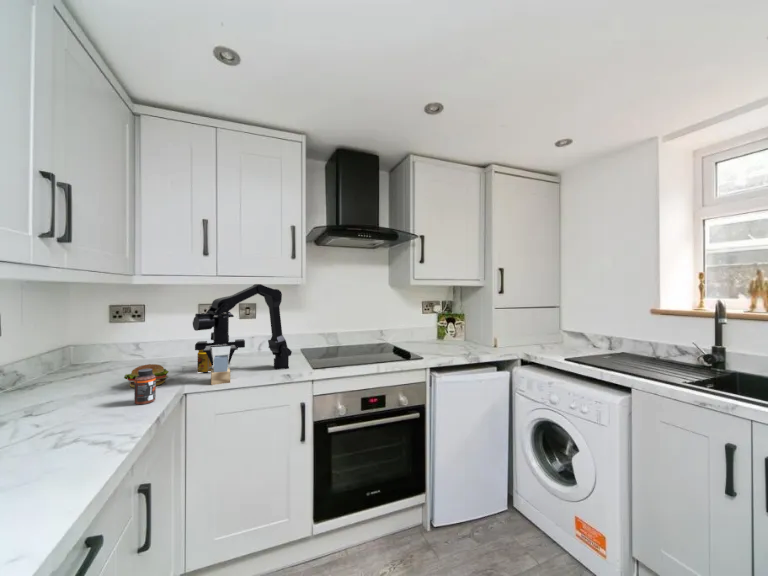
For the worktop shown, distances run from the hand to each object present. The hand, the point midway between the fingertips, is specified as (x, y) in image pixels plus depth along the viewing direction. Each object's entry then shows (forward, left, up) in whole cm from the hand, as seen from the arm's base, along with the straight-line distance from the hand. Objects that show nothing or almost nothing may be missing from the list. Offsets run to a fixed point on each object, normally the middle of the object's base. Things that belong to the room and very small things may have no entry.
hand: (220, 364), depth 136 cm
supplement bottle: (+23, +17, -7) cm, 29 cm away
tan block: (0, 0, -8) cm, 8 cm away
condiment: (+8, -21, -8) cm, 24 cm away
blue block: (0, 0, -2) cm, 3 cm away
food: (+28, -7, -8) cm, 29 cm away
